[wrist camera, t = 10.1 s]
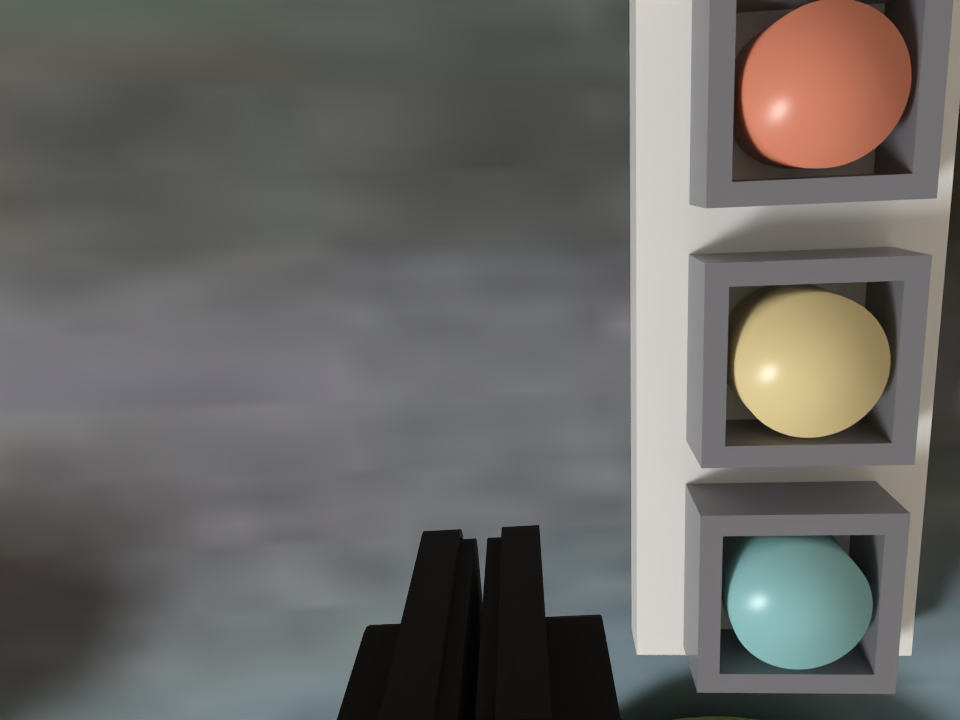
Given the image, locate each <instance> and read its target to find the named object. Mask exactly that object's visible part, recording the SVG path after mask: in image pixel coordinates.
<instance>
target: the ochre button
mask: <svg viewBox="0 0 960 720" xmlns="http://www.w3.org/2000/svg"><path fill="white" fill-rule="evenodd" d="M889 372H890V348H889V344H888V340H887V337H886V335H885V333H884V330H883V328H882V327H881V325H880V324H879V322H878V321H877V320H876V318H875V317H874V316H873V315H872V314H871V313H870V312H869V311H868V310H866V309H865V308H864V307H863V306H861V305H859V304H858V303H856V302H854V301H852V300H850V299H848V298H845V297H843V296H840V295H838V294H836V293H833V292H831V291H828V290H826V289H823V288H821V287H819V286H816V285H813V284H795V285H767V286H764V287H762V288H760V289H758V290H756V291H754V292H752V293H751V294H749V295H748V296H746V297H745V298H744V299H743V300H741V301H740V302H739V303H738V304H737V305H736V306H735V308H734V309H733V310H732V311H731V313H730V314H729V316H728V353H727V384H728V385H729V387H730V388H731V389H732V391H733V392H734V393H735V394H736V395H737V396H738V397H739V398H740V400H741V401H742V402H743V403H744V404H745V405H746V406H747V408H748V409H749V410H750V411H751V412H752V413H753V414H754V415H755V416H756V418H757V419H759V420H760V421H761V422H762V423H763V424H765V425H766V426H768V427H770V428H771V429H773V430H775V431H777V432H780V433H782V434H786V435H789V436H794V437H802V438H813V437H822V436H827V435H831V434H834V433H837V432H840V431H842V430H844V429H846V428H848V427H850V426H851V425H853V424H855V423H856V422H858V421H859V420H860V419H861V418H863V417H864V416H865V415H866V414H867V413H868V412H869V411H870V410H871V409H872V408H873V406H874V405H875V404H876V403H877V401H878V400H879V398H880V396H881V395H882V393H883V391H884V388H885V386H886V384H887V380H888V377H889Z"/></svg>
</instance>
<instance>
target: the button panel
mask: <svg viewBox="0 0 960 720" xmlns="http://www.w3.org/2000/svg"><path fill="white" fill-rule="evenodd" d="M816 1H819V0H630V294H631V595H632V632H633V638H634V643H635V648H636V653H637V655H686V657H687V660H688V664H689V667H690V670H691V673H692V677H693V680H694V683H695V687H696V690H697V693H824V694H896V682H897V670H898V658H899V656H911V652H912V641H913V629H914V618H915V607H916V595H917V584H918V572H919V561H920V549H921V538H922V527H923V515H924V504H925V492H926V481H927V470H928V458H929V447H930V435H931V424H932V412H933V401H934V390H935V378H936V367H937V355H938V344H939V333H940V321H941V310H942V298H943V287H944V275H945V264H946V253H947V241H948V230H949V218H950V207H951V195H952V184H953V173H954V161H955V150H956V138H957V127H958V116H959V104H960V0H854V1H858V2H861V3H864V4H867V5H869V6H871V7H873V8H875V9H876V10H878V11H879V12H881V13H882V14H884V15H885V16H886V17H887V18H888V19H889V20H890V21H891V22H892V23H893V24H894V25H895V27H896V28H897V29H898V31H899V32H900V34H901V36H902V37H903V39H904V42H905V44H906V46H907V49H908V53H909V56H910V62H911V87H910V93H909V97H908V101H907V104H906V106H905V109H904V111H903V114H902V116H901V117H900V119H899V121H898V123H897V124H896V126H895V127H894V129H893V130H892V131H891V133H890V134H889V135H888V136H887V137H886V138H885V140H884V141H883V142H882V143H880V144H879V145H878V146H877V147H876V148H875V149H873V150H872V151H871V152H869V153H868V154H866V155H865V156H863V157H861V158H859V159H857V160H855V161H853V162H850V163H847V164H845V165H841V166H836V167H831V168H810V169H784V168H778V167H773V166H770V165H766V164H764V163H762V162H760V161H758V160H756V159H754V158H753V157H751V156H750V155H749V154H748V153H746V152H745V151H744V150H743V149H742V148H741V147H740V146H739V144H738V143H737V142H736V140H735V139H734V137H733V117H734V77H735V58H736V57H737V55H738V53H739V52H740V51H741V49H742V48H743V47H744V46H745V45H746V43H748V42H749V41H750V40H751V39H752V38H753V37H754V36H755V35H757V34H758V33H759V32H761V31H762V30H763V29H765V28H767V27H768V26H770V25H771V24H773V23H774V22H776V21H778V20H779V19H781V18H782V17H784V16H785V15H787V14H788V13H790V12H792V11H794V10H796V9H797V8H799V7H801V6H804V5H806V4H809V3H812V2H816ZM795 284H813V285H816V286H819V287H821V288H823V289H826V290H828V291H831V292H833V293H836V294H838V295H840V296H843V297H845V298H848V299H850V300H852V301H854V302H856V303H858V304H859V305H861V306H863V307H864V308H865V309H866V310H868V311H869V312H870V313H871V314H872V315H873V316H874V317H875V318H876V320H877V321H878V322H879V324H880V325H881V327H882V328H883V330H884V333H885V335H886V337H887V340H888V344H889V348H890V372H889V377H888V380H887V384H886V386H885V388H884V391H883V393H882V395H881V396H880V398H879V400H878V401H877V403H876V404H875V405H874V406H873V408H872V409H871V410H870V411H869V412H868V413H867V414H866V415H865V416H864V417H863V418H861V419H860V420H859V421H858V422H856V423H855V424H853V425H851V426H850V427H848V428H846V429H844V430H842V431H840V432H837V433H834V434H831V435H827V436H822V437H813V438H802V437H794V436H789V435H786V434H782V433H780V432H777V431H775V430H773V429H771V428H770V427H768V426H766V425H765V424H763V423H762V422H761V421H760V420H759V419H757V418H756V416H755V415H754V414H753V413H752V412H751V411H750V410H749V409H748V408H747V406H746V405H745V404H744V403H743V402H742V401H741V400H740V398H739V397H738V396H737V395H736V394H735V393H734V392H733V391H732V389H731V388H730V387H729V385H728V384H727V353H728V316H729V314H730V313H731V311H732V310H733V309H734V308H735V306H736V305H737V304H738V303H739V302H740V301H741V300H743V299H744V298H745V297H746V296H748V295H749V294H751V293H752V292H754V291H756V290H758V289H760V288H762V287H764V286H767V285H795ZM808 535H833V536H834V538H835V539H836V540H837V541H838V543H839V544H840V545H841V546H842V548H843V549H844V550H845V551H846V553H847V554H848V555H849V556H850V558H851V559H852V560H853V561H854V563H855V564H856V565H857V566H858V568H859V569H860V570H861V571H862V573H863V574H864V576H865V577H866V579H867V581H868V583H869V586H870V589H871V593H872V599H873V609H872V616H871V620H870V623H869V626H868V628H867V630H866V632H865V634H864V635H863V637H862V638H861V640H860V641H859V642H858V643H857V644H856V646H855V647H854V648H852V649H851V650H850V651H849V652H848V653H847V654H845V655H844V656H842V657H841V658H839V659H837V660H835V661H834V662H831V663H829V664H826V665H823V666H820V667H816V668H811V669H799V670H797V669H786V668H780V667H777V666H773V665H770V664H768V663H766V662H764V661H762V660H760V659H758V658H757V657H755V656H754V655H753V654H752V653H750V652H749V651H748V650H747V649H746V648H745V647H744V646H743V644H742V643H741V642H740V640H739V639H738V637H737V635H736V633H735V631H734V629H733V626H732V624H731V622H730V619H729V617H728V615H727V612H726V610H725V607H724V605H723V603H722V600H721V590H722V551H723V538H724V537H725V536H808Z"/></svg>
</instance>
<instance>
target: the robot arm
mask: <svg viewBox="0 0 960 720" xmlns="http://www.w3.org/2000/svg"><path fill="white" fill-rule="evenodd" d="M337 720H621V718H620V712H619V707H618V701H617V696H616V691H615V685H614V680H613V674H612V669H611V663H610V658H609V653H608V647H607V642H606V636H605V631H604V625H603V620H602V616H601V615H580V616H558V617H545V605H544V590H543V575H542V560H541V545H540V530H539V525H534V526H515V527H502V535H501V537H497V538H488V539H487V552H486V566H485V580H484V594H483V602H482V591H481V579H480V568H479V557H478V547H477V540H476V539H463V535H462V531H461V529H459V530H440V531H423V534H422V537H421V542H420V546H419V550H418V554H417V558H416V562H415V566H414V571H413V575H412V579H411V583H410V587H409V591H408V596H407V600H406V604H405V608H404V612H403V616H402V621H401V624H383V625H369V626H367V627H366V630H365V632H364V634H363V637H362V641H361V644H360V647H359V650H358V654H357V657H356V660H355V663H354V666H353V670H352V673H351V676H350V679H349V682H348V686H347V689H346V692H345V695H344V698H343V702H342V705H341V708H340V711H339V715H338V718H337Z"/></svg>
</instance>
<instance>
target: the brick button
mask: <svg viewBox="0 0 960 720" xmlns="http://www.w3.org/2000/svg"><path fill="white" fill-rule="evenodd" d="M910 87H911V62H910V56H909V53H908V49H907V46H906V44H905V42H904V39H903V37H902V36H901V34H900V32H899V31H898V29H897V28H896V27H895V25H894V24H893V23H892V22H891V21H890V20H889V19H888V18H887V17H886V16H885V15H884V14H882V13H881V12H879V11H878V10H876V9H875V8H873V7H871V6H869V5H867V4H864V3H861V2H858V1H854V0H819V1H816V2H812V3H809V4H806V5H804V6H801V7H799V8H797V9H796V10H794V11H792V12H790V13H788V14H787V15H785V16H784V17H782V18H781V19H779V20H778V21H776V22H774V23H773V24H771V25H770V26H768V27H767V28H765V29H763V30H762V31H761V32H759V33H758V34H757V35H755V36H754V37H753V38H752V39H751V40H750V41H749V42H748V43H746V45H745V46H744V47H743V48H742V49H741V51H740V52H739V53H738V55H737V57H736V58H735V77H734V117H733V137H734V139H735V140H736V142H737V143H738V144H739V146H740V147H741V148H742V149H743V150H744V151H745V152H746V153H748V154H749V155H750V156H751V157H753V158H754V159H756V160H758V161H760V162H762V163H764V164H766V165H770V166H773V167H778V168H784V169H810V168H831V167H836V166H841V165H845V164H847V163H850V162H853V161H855V160H857V159H859V158H861V157H863V156H865V155H866V154H868V153H869V152H871V151H872V150H873V149H875V148H876V147H877V146H878V145H879V144H880V143H882V142H883V141H884V140H885V138H886V137H887V136H888V135H889V134H890V133H891V131H892V130H893V129H894V127H895V126H896V124H897V123H898V121H899V119H900V117H901V116H902V114H903V111H904V109H905V106H906V104H907V101H908V97H909V93H910Z"/></svg>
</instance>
